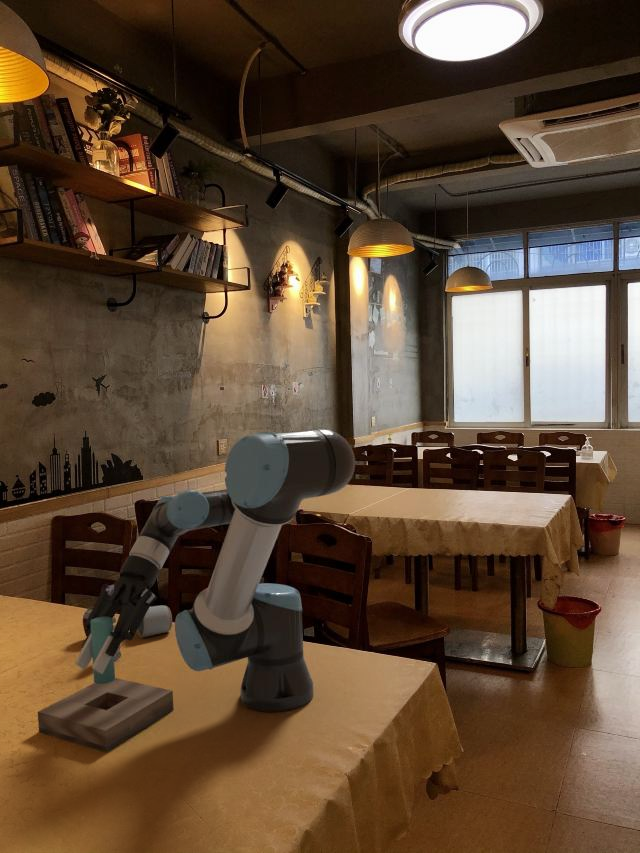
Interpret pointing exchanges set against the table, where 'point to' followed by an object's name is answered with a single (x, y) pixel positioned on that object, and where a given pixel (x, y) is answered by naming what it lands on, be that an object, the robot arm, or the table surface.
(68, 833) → the table surface
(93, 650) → the pin
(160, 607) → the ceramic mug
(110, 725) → the hole board
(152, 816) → the table surface
